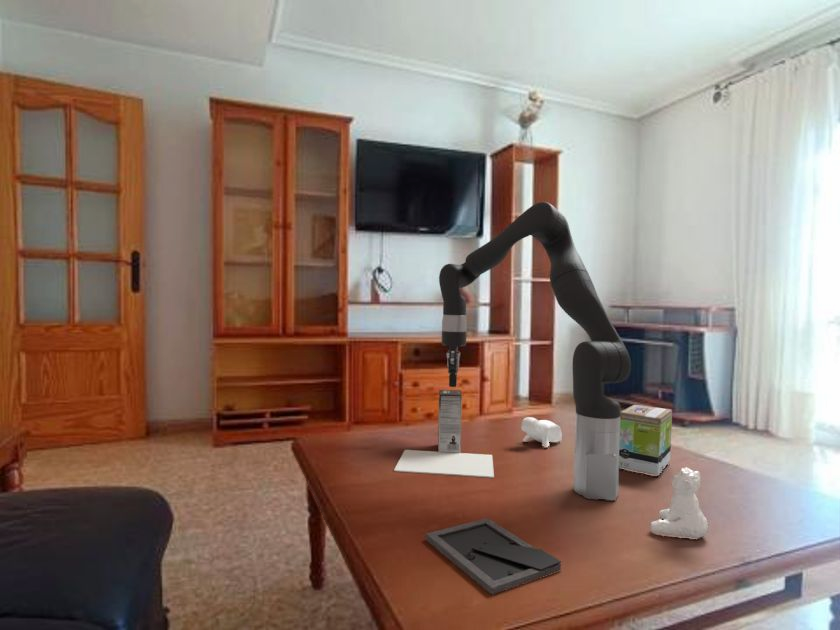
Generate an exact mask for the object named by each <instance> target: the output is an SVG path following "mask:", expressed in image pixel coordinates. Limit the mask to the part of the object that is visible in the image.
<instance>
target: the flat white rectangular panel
mask: <svg viewBox="0 0 840 630" xmlns="http://www.w3.org/2000/svg"><path fill="white" fill-rule="evenodd" d="M393 472H398V473H400V472H401V473H415V474H428V475H429V474H430V475H431V474H432V475H444V476H445V475H446V476H457V477H458V476H459V477H461V476H462V477H476V478H490V479H491V478H493V479H494V478H495V475H494V473H495V471H494V459H493V454H481V453H465V452H460V453H449V452H438V451H434V450H433V451H431V450H419V449H418V450H416V449H415V450H412V449H404V451H403V453H402V454H401V457H400V459H399V460H398V461H397V464H396V466H395V467H394V470H393Z"/></svg>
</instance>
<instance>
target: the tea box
mask: <svg viewBox="0 0 840 630" xmlns="http://www.w3.org/2000/svg"><path fill="white" fill-rule="evenodd" d="M672 422H673V410H672V409H670V408H661V407H656V406H655V407H654V406H649V405H648V406H647V405H640V404H632V405H630V406H629V407H627V408H625V409H623V410H621V412H620V445H619V468H624V469H629V470H633V471H637V472H643V473H648V474H653V475H659V474H660V473H661V474H662V472H661V471H662V470H663V469H664V468H665V466H666V465H667V464H668V462H669V461H670V462H671V446H672V430H673V429H672V427H673V426H672V425H673V424H672ZM668 465H669V464H668ZM665 469H666V468H665ZM665 469H664V470H665ZM664 470H663V471H664ZM661 474H660V475H661ZM660 475H659V476H660Z"/></svg>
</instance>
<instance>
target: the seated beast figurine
mask: <svg viewBox="0 0 840 630" xmlns="http://www.w3.org/2000/svg"><path fill="white" fill-rule="evenodd" d="M700 485H701V473H700V471H698V470H695V471H694V470H693V469H691V468H690V467H687V466H686V467H682V468H680V471H679V472H678V474H675V475H674V476H673V481H672V484H671V487H672V488H673V489H674V490H673V494H672V495H673V496H672V498H671V500H670V505H669V506H668V507H669V508H665V509H661V510H660V511H659V513H658V516H659V517H658V518H659V519H657V520H654V521H651V522H650V531H651V530H652V532H654V533H660V534H665V535H674V536H682V537H684V536H685V537H691V538H699V539H701V538H703V537H705V536H706V534H707V533H708V532H709V527H708V526H709V524H708V520H707V519H708V518H707V517H705V516H704V515H705V514H703V512H702V510H701V509H700V504H699V503H700V502H699V499H698V498H697V494H695V493H696V492H697V491H698V490H699V488H700ZM662 519H664V520H662ZM700 537H701V538H700Z"/></svg>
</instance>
